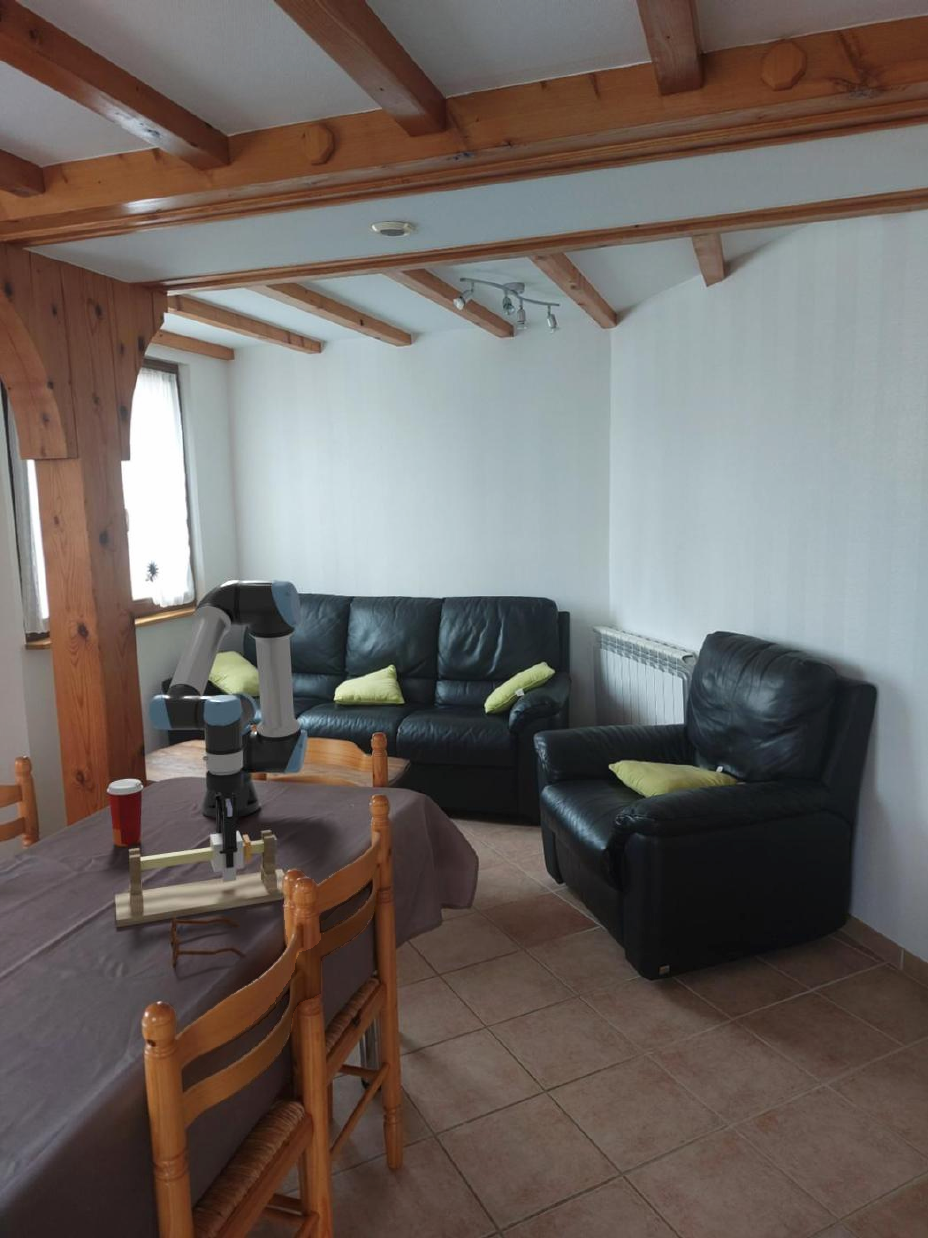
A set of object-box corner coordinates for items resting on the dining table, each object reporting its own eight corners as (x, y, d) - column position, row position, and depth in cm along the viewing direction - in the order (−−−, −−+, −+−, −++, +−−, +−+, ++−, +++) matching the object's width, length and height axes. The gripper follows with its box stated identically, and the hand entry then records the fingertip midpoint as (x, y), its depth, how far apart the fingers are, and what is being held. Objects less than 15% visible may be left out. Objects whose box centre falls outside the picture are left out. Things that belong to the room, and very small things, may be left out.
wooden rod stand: (115, 901, 181) (112, 844, 179) (281, 875, 195) (280, 822, 193) (116, 927, 170) (114, 867, 169) (292, 897, 184) (292, 841, 182)
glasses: (170, 937, 168) (169, 913, 167) (238, 926, 172) (238, 903, 172) (173, 972, 155) (172, 946, 155) (246, 959, 160) (246, 934, 159)
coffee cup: (151, 836, 216) (148, 778, 214) (135, 849, 208) (133, 789, 206) (119, 834, 217) (116, 777, 215) (102, 847, 209) (99, 788, 207)
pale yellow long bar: (132, 870, 178) (131, 850, 177) (274, 850, 189) (273, 831, 189) (133, 879, 174) (132, 858, 173) (278, 857, 185) (277, 838, 185)
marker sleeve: (210, 861, 185) (209, 834, 184) (239, 857, 187) (238, 830, 187) (214, 872, 180) (213, 845, 179) (243, 868, 182) (242, 841, 181)
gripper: (200, 759, 188) (203, 859, 191) (211, 785, 171) (214, 896, 174) (235, 755, 191) (238, 854, 194) (250, 781, 173) (252, 890, 177)
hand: (227, 874), depth 184 cm, fingers closed on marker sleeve, 6 cm apart
